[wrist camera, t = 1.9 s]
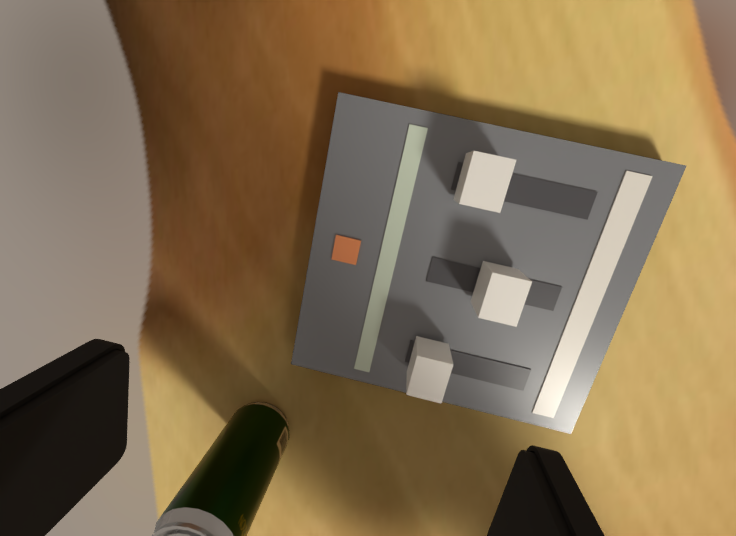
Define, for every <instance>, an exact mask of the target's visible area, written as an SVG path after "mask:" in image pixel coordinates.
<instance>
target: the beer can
mask: <svg viewBox="0 0 736 536" xmlns="http://www.w3.org/2000/svg"><path fill="white" fill-rule="evenodd" d="M288 440H289V425H288V422H287V419H286V417H285V416H284V414H283V413H282V412H281V411H280V410H279V409H278V408H276V407H275V406H273V405H271V404H268V403H264V402H255V403H250V404H248V405H245V406H244V407H242V408H240V409H238V410H237V411H236V413H235V414H234V415H233V416H232V418H231V419H230V421H229V422H228V423H227V425H226V426H225V428H224V429H223V430H222V432H221V433H220V435H219V436H218V437H217V439H216V440H215V442H214V443H213V444H212V446H211V447H210V449H209V450H208V451H207V453H206V454H205V455H204V457H203V458H202V460H201V461H200V462H199V464H198V465H197V467H196V468H195V469H194V471H193V472H192V474H191V475H190V476H189V478H188V479H187V481H186V482H185V483H184V485H183V486H182V488H181V489H180V490H179V492H178V493H177V495H176V496H175V497H174V499H173V500H172V502H171V503H170V504H169V506H168V507H167V508H166V510H165V511H164V513H163V514H162V515H161V517H160V518H159V520H158V521H157V523H156V527H155V531H154V534H153V535H152V536H247V533H248V531H249V529H250V527H251V524H252V522H253V520H254V518H255V515H256V513H257V511H258V509H259V506H260V504H261V502H262V500H263V497H264V495H265V493H266V491H267V488H268V486H269V484H270V482H271V479H272V477H273V475H274V473H275V470H276V468H277V466H278V464H279V461H280V459H281V457H282V455H283V452H284V450H285V448H286V446H287V443H288Z"/></svg>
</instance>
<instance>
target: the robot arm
mask: <svg viewBox="0 0 736 536" xmlns="http://www.w3.org/2000/svg"><path fill="white" fill-rule="evenodd" d="M128 387H129V355H128V353H126V352H125V349H124V347H123V346H122V345H120V344H117V343H113V342H109V341H105V340H101V339H94V340H91V341H89V342H87V343H85V344H83V345H81V346H80V347H78V348H76V349H74V350H72V351H70V352H68V353H67V354H65V355H63V356H61V357H59V358H57V359H56V360H54V361H52V362H50V363H48V364H46V365H44V366H43V367H41V368H39V369H37V370H36V371H33V372H31V373H30V374H28V375H26V376H24V377H22V378H21V379H18V380H17V381H15V382H13V383H11V384H9V385H7V386H6V387H4V388H2V389H0V536H45V535H46V534H47V533H48V532H49V531H50V530H51V529H52V528H53V527H54V526H55V525H56V524H57V523H58V522H59V521H60V520H61V519H62V518H63V517H64V516H65V515H66V514H67V513H68V512H69V511H70V510H71V509H72V508H73V507H74V506H75V505H76V504H77V503H78V502H79V501H80V500H81V499H82V498H83V497H84V496H85V495H86V494H87V493H88V492H89V491H90V490H91V489H92V488H93V487H94V486H95V485H96V484H97V483H98V482H99V481H100V479H102V478H103V477H104V476H105V475H106V474H107V473H108V472H109V471H110V470H111V469H112V467H114V466H115V465H116V463H117V462H118V461H119V460H120V459H121V457H122V456H123V454H124V452H125V449H126V445H127V419H128ZM487 536H604V534H603V532H602V530H601V528H600V527H599V525H598V523H597V521H596V519H595V517H594V515H593V513H592V512H591V510H590V508H589V506H588V504H587V502H586V500H585V498H584V497H583V495H582V493H581V491H580V489H579V487H578V485H577V483H576V482H575V480H574V478H573V476H572V474H571V472H570V470H569V469H568V467H567V465H566V463H565V461H564V459H563V457H562V456H561V454H560V453H559V452H557V451H553V450H549V449H545V448H541V447H537V446H530V447H529V448H528V449H527V451H525V450H521V451H520V452H519V454H518V456H517V459H516V461H515V464H514V467H513V469H512V472H511V474H510V477H509V480H508V482H507V485H506V487H505V490H504V492H503V495H502V498H501V500H500V503H499V505H498V508H497V511H496V513H495V516H494V518H493V521H492V524H491V526H490V529H489V531H488V534H487Z"/></svg>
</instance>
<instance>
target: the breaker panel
mask: <svg viewBox="0 0 736 536" xmlns="http://www.w3.org/2000/svg"><path fill="white" fill-rule="evenodd" d="M685 168H686V166H685V165H680V164H675V163H671V162H666V161H661V160H657V159H652V158H647V157H642V156H638V155H633V154H628V153H624V152H619V151H614V150H609V149H605V148H600V147H595V146H591V145H586V144H581V143H576V142H572V141H567V140H562V139H557V138H553V137H548V136H543V135H539V134H534V133H529V132H524V131H520V130H515V129H510V128H506V127H501V126H496V125H491V124H487V123H482V122H477V121H473V120H468V119H463V118H458V117H454V116H449V115H444V114H439V113H435V112H430V111H425V110H421V109H416V108H411V107H406V106H402V105H397V104H392V103H388V102H383V101H378V100H373V99H369V98H364V97H359V96H355V95H350V94H345V93H340V92H338V98H337V103H336V109H335V115H334V120H333V126H332V132H331V138H330V143H329V149H328V155H327V161H326V166H325V172H324V178H323V184H322V189H321V195H320V201H319V207H318V212H317V218H316V224H315V230H314V235H313V241H312V247H311V253H310V258H309V264H308V270H307V276H306V281H305V287H304V293H303V299H302V304H301V310H300V316H299V322H298V327H297V333H296V339H295V345H294V350H293V356H292V362H291V364H293V365H297V366H301V367H305V368H309V369H313V370H317V371H321V372H325V373H329V374H333V375H337V376H341V377H345V378H349V379H353V380H357V381H361V382H365V383H369V384H373V385H377V386H381V387H385V388H389V389H393V390H397V391H401V392H405V393H406V395H409V396H413V397H417V398H421V399H425V400H429V401H433V402H437V403H442V402H445V403H449V404H453V405H457V406H461V407H465V408H469V409H473V410H477V411H481V412H485V413H489V414H493V415H497V416H501V417H505V418H509V419H513V420H517V421H521V422H525V423H529V424H533V425H537V426H541V427H545V428H549V429H553V430H557V431H561V432H565V433H569V434H571V433H572V431H573V428H574V426H575V424H576V421H577V419H578V417H579V414H580V412H581V410H582V407H583V405H584V403H585V400H586V398H587V396H588V393H589V391H590V389H591V386H592V384H593V382H594V379H595V377H596V375H597V372H598V370H599V368H600V365H601V363H602V361H603V359H604V356H605V354H606V352H607V349H608V347H609V345H610V342H611V340H612V338H613V335H614V333H615V331H616V328H617V326H618V324H619V321H620V319H621V317H622V314H623V312H624V310H625V307H626V305H627V303H628V300H629V298H630V296H631V293H632V291H633V289H634V287H635V284H636V282H637V280H638V277H639V275H640V273H641V270H642V268H643V266H644V263H645V261H646V259H647V256H648V254H649V252H650V249H651V247H652V245H653V242H654V240H655V238H656V235H657V233H658V231H659V228H660V226H661V224H662V221H663V219H664V217H665V214H666V212H667V210H668V208H669V205H670V203H671V201H672V198H673V196H674V194H675V191H676V189H677V187H678V184H679V182H680V180H681V177H682V175H683V173H684V170H685ZM483 261H486V262H490V263H495V264H499V265H503V266H508V267H512V268H516V269H519V270H520V271H521V272H522V273H523V274H524V275H525V276H527V277H528V278H529V279H530V280H531V281H532V284H531V287H530V290H529V292H528V295H527V298H526V301H525V304H524V307H523V310H522V313H521V315H520V318H519V321H518V324H517V327H515V326H511V325H506V324H502V323H498V322H494V321H490V320H485V319H481V318H478V316H477V314H476V312H475V310H474V308H473V306H472V304H471V298H472V295H473V292H474V289H475V285H476V282H477V279H478V275H479V272H480V269H481V266H482V262H483Z"/></svg>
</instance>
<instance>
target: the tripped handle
mask: <svg viewBox="0 0 736 536" xmlns="http://www.w3.org/2000/svg"><path fill="white" fill-rule="evenodd" d="M531 284H532V281H531V280H530V279H529V278H528V277H527V276H525V275H524V274H523V273H522V272H521V271H520V270H519V269H516V268H512V267H508V266H503V265H499V264H495V263H490V262H486V261H483V262H482V266H481V269H480V272H479V275H478V279H477V282H476V285H475V289H474V292H473V295H472V298H471V304H472V306H473V308H474V310H475V312H476V314H477V316H478V318H481V319H485V320H490V321H494V322H498V323H502V324H506V325H511V326H515V327H517V324H518V321H519V318H520V315H521V313H522V310H523V307H524V304H525V301H526V298H527V295H528V292H529V290H530V287H531Z"/></svg>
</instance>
